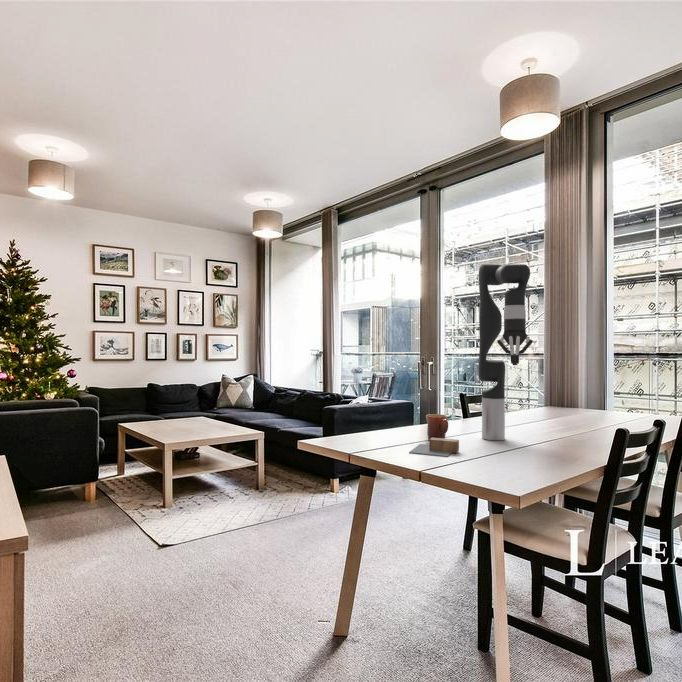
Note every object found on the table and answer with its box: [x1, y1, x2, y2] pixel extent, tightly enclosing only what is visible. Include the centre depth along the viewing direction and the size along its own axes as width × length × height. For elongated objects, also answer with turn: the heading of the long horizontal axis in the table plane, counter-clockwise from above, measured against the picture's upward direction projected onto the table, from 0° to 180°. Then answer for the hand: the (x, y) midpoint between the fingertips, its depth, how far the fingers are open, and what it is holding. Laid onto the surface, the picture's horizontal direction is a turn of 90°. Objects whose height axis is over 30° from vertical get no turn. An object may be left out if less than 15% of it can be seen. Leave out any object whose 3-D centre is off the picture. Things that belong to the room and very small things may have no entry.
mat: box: [408, 443, 453, 458], centre depth 173 cm, size 16×14×1 cm
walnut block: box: [428, 438, 460, 454], centre depth 172 cm, size 4×4×10 cm
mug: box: [425, 413, 449, 440], centre depth 191 cm, size 12×9×10 cm
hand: (514, 365), depth 172 cm, fingers closed
